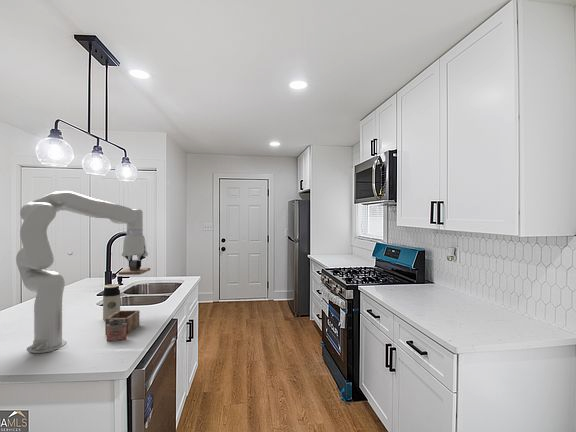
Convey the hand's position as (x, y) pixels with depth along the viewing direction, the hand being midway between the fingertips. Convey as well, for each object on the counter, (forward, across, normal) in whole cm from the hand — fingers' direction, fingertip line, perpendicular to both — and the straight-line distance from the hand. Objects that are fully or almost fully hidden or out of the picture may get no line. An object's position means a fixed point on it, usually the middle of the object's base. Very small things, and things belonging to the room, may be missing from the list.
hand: (135, 268), depth 176 cm
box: (+27, +1, -16) cm, 32 cm away
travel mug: (+28, -13, +2) cm, 31 cm away
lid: (+2, 0, 0) cm, 2 cm away
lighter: (+28, +4, -29) cm, 40 cm away
